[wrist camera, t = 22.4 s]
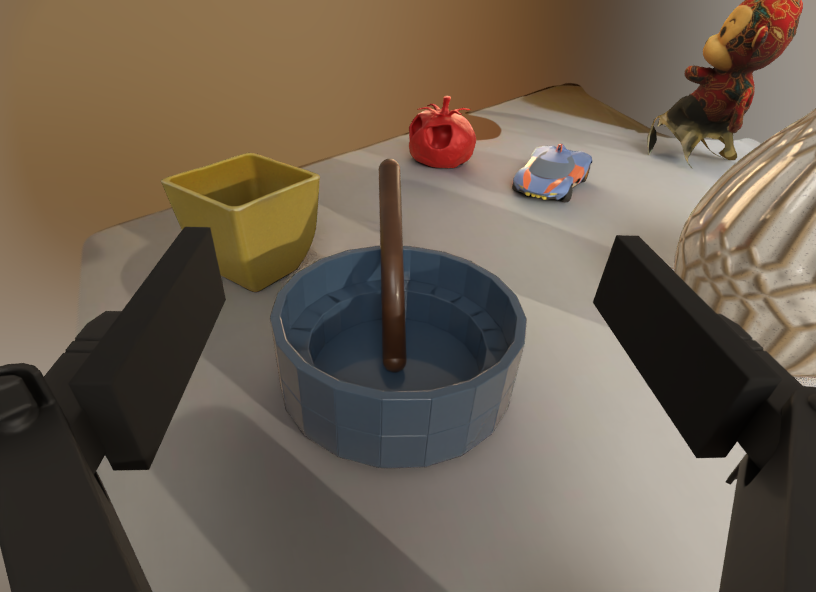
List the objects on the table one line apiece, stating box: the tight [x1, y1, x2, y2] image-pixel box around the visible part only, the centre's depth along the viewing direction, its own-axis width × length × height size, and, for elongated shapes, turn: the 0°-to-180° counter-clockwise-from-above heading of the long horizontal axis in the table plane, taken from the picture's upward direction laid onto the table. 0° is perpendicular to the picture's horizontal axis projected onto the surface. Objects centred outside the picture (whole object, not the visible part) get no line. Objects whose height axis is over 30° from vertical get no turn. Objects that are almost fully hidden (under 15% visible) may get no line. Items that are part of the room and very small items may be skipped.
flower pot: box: [161, 153, 320, 292], centre depth 39 cm, size 9×9×9 cm
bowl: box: [270, 246, 527, 468], centre depth 30 cm, size 15×15×6 cm
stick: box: [379, 159, 407, 372], centre depth 33 cm, size 2×2×16 cm
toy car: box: [512, 144, 592, 202], centre depth 61 cm, size 8×15×5 cm, turn 151°
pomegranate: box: [409, 96, 476, 168], centre depth 66 cm, size 10×10×9 cm
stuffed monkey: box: [647, 0, 803, 168], centre depth 67 cm, size 15×17×25 cm
